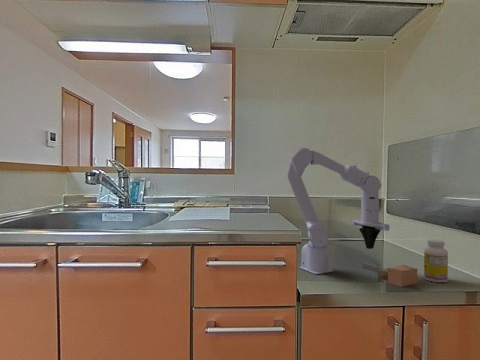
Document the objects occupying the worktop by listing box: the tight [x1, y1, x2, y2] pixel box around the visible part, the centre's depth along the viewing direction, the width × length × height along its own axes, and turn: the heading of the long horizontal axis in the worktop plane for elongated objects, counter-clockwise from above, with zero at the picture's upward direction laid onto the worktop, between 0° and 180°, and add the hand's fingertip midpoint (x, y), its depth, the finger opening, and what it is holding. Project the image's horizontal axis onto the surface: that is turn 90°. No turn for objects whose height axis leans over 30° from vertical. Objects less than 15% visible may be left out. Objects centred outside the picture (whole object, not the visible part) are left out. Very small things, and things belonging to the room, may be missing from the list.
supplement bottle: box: [423, 238, 449, 284], centre depth 107 cm, size 7×7×13 cm
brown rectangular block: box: [378, 268, 388, 282], centre depth 107 cm, size 8×4×3 cm, turn 29°
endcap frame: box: [361, 262, 418, 288], centre depth 112 cm, size 21×8×4 cm, turn 27°
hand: (369, 248), depth 116 cm, fingers closed
